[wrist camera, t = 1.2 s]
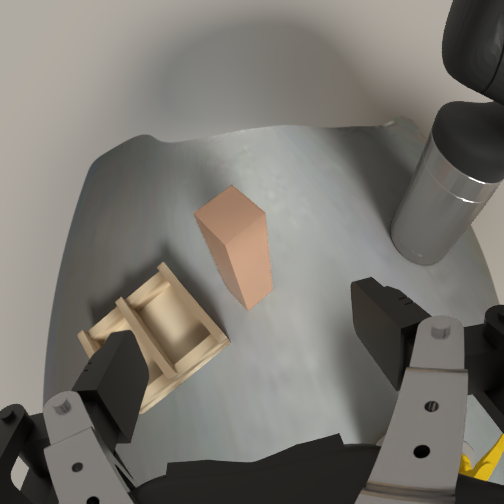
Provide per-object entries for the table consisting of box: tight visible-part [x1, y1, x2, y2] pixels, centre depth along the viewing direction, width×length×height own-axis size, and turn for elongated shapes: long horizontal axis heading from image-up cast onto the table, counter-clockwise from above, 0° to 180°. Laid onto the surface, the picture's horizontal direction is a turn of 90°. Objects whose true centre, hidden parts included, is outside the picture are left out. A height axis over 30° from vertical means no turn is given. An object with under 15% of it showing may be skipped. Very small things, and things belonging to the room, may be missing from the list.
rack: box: [77, 262, 231, 414], centre depth 34 cm, size 14×11×5 cm
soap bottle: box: [376, 434, 504, 481], centre depth 19 cm, size 7×7×18 cm
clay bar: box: [193, 185, 273, 311], centre depth 31 cm, size 4×4×16 cm
